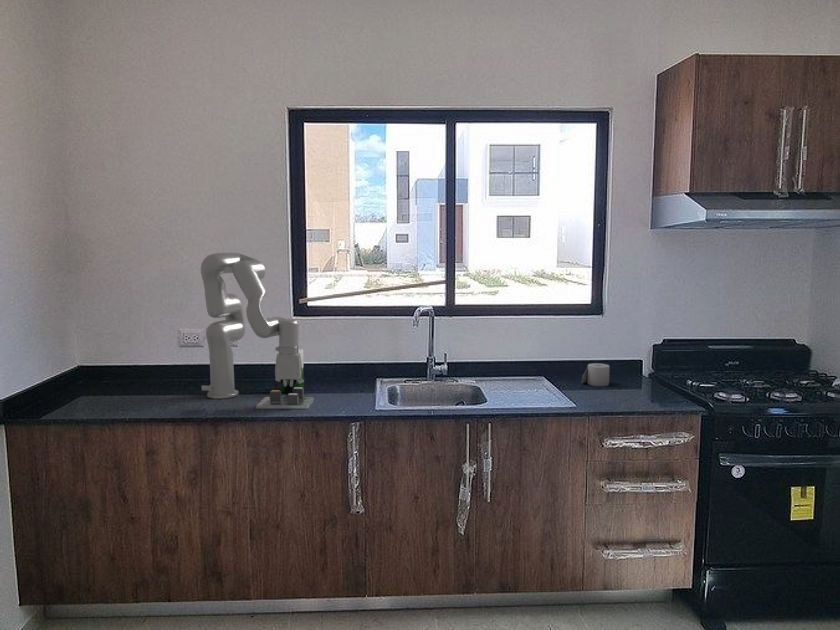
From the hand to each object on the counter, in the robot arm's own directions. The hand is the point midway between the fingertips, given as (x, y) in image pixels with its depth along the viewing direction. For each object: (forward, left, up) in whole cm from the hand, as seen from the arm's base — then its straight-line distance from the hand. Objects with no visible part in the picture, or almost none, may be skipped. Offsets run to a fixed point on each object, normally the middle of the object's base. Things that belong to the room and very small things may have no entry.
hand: (289, 395), depth 250 cm
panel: (-1, 0, -4) cm, 4 cm away
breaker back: (+3, +5, -2) cm, 6 cm away
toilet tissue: (+131, +37, -4) cm, 136 cm away
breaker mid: (-5, 0, -2) cm, 6 cm away
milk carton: (-3, +21, -4) cm, 22 cm away
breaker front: (+3, -5, -2) cm, 6 cm away
